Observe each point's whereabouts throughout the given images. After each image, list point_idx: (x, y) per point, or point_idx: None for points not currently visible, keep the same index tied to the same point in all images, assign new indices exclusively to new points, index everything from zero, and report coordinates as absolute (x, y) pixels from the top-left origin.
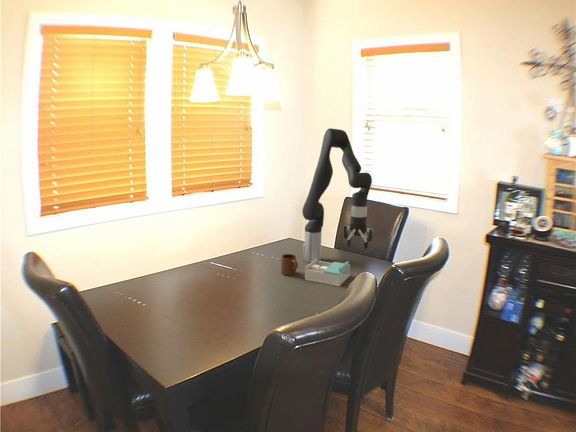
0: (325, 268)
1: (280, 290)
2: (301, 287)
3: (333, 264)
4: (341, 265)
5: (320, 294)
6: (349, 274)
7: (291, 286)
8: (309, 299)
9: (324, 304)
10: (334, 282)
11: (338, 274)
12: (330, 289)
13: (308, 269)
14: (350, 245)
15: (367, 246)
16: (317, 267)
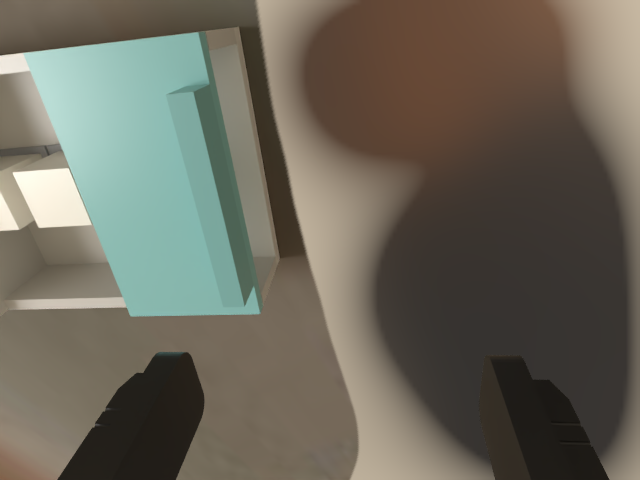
0: (80, 215)
1: (86, 415)
2: (127, 357)
3: (80, 144)
4: (153, 127)
5: (255, 385)
6: (235, 29)
7: (83, 366)
8: (246, 438)
9: (327, 451)
10: None
11: (252, 310)
12: (262, 319)
13: (19, 300)
14: (186, 405)
15: (561, 424)
16: (17, 218)
